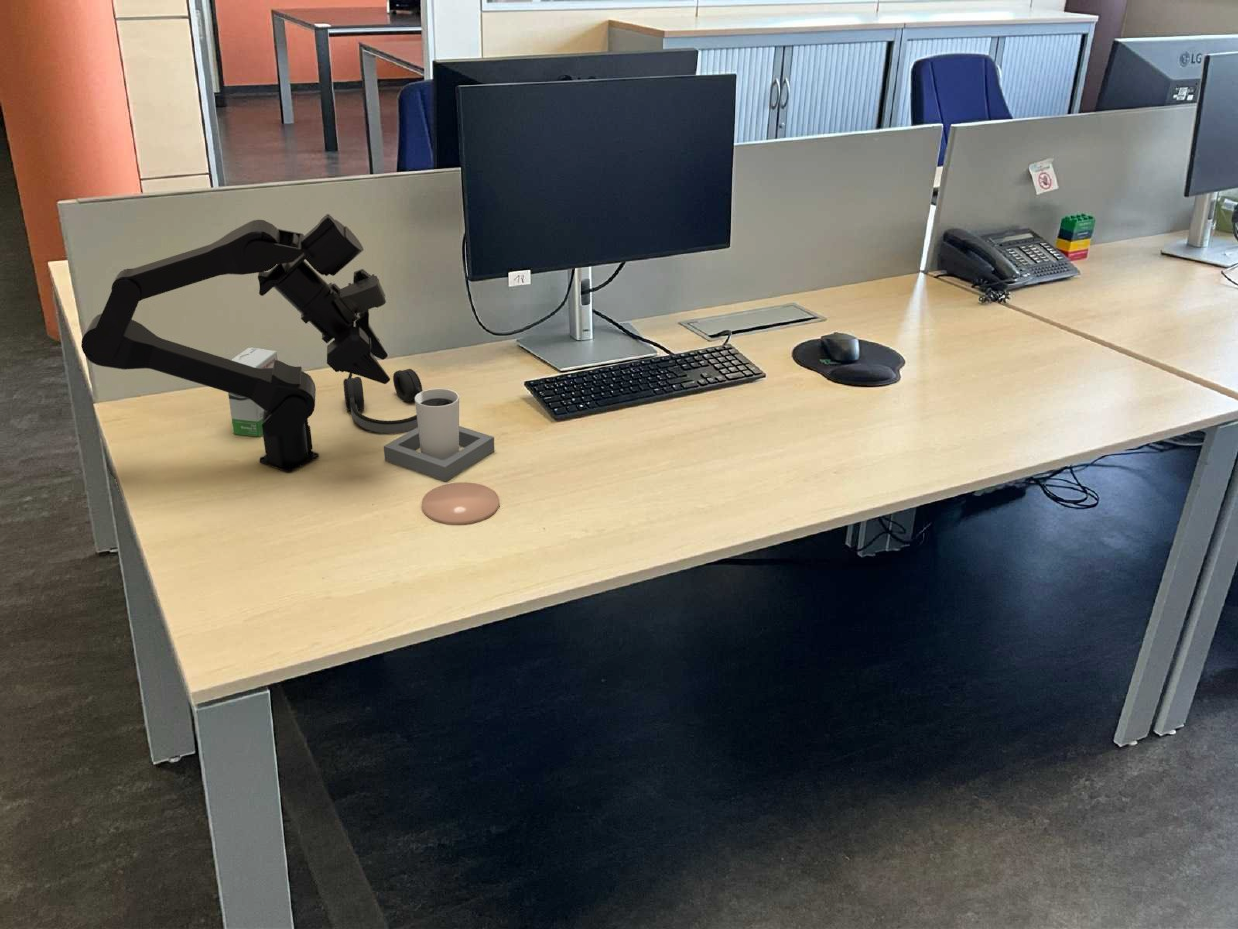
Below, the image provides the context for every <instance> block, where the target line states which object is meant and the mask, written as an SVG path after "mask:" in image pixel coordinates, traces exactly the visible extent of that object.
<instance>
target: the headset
mask: <svg viewBox="0 0 1238 929" xmlns="http://www.w3.org/2000/svg"><path fill="white" fill-rule="evenodd" d="M377 338H378V340H379V341H380V339H379V337H377ZM352 376H353V374H352V373H348V376H347V378H344V379H343V394H344V402H345V408H346V410H348V411H350V413H351V418H352V420H353V421H354V423H355V424H356V425H357V426H358V427H359V428H361V429H363V430H365V431H367V432H370V433H371V434H372V433H374V434H378V435H379V434H381V435H382V434H383V435H391V434H393V435H394V434H401V433H408V432H410V431H412V430H413V429H415V428H417V427H418V422H417V414H414V415H413V416H410V417H406V418H402V419H397V420H395V419H394V420H384V419H376V418H372V417H368V416H366V415H363V414H362V413H361V412H360V411H362V410H364V408H365V398H364V397H365V396H364V388H363V381H362V377H361V376H354V377H352ZM392 380H393V382H392V383H393V387H394V390H395V392H396V394H397V396H398V397H399V399H400V400H401V401H402V402H404V403H409V402H412V401H414V402H415V397H416V395H417V394H418V393H420V392H422V391H424V390H423V386H422V382H421V379H420V377H419V376H418V373H417V372H416V371H415V370H413V369H412V368H407V369H402V370H401V369H400V370H396V371H395V372H394V373H393V375H392Z"/></svg>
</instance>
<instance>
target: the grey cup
mask: <svg viewBox="0 0 1238 929" xmlns="http://www.w3.org/2000/svg"><path fill="white" fill-rule="evenodd" d="M414 404H415V413H416V415H417V422H418V430H419V439H420V447H419V448H420V453H423V454H426V455H429V456H432V457H435V458H437V459H440V460H443V461H444V460H445V459H447V458H449V457H450V456H452V455H454V454H455V453H457V452H458V451H460V445H459V426H460V396H459V394H458V393H457V392H456V391H455V390H451V389H448V388H429V389H426V390H423V391H422V392H420V393H418V394H417V395H416V397H415V400H414Z"/></svg>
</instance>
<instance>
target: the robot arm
mask: <svg viewBox="0 0 1238 929" xmlns="http://www.w3.org/2000/svg"><path fill="white" fill-rule="evenodd" d="M363 251H364V247H363V245H362V243H361V242H360V240H359V239H358V238H357V236H356V234H354V233H353V232H352V230H351V229H350V228H349V227H348V226H346V225H344V224H343V223H341V222H340V221H338V220H337V219H334V217H333V216H332V215H330V214H328V213H327V214H325V216H323V217H322V218H321V219H320V221H319V222H318V223H317V224H316V225H315V226H314V227H313V228H312V229H311V230H310V231H308V232H307V233H306V234H304V233H301V232H297V231H290V230H285V229H281V228H277V227H276V226H275V225H274V224H272V223H271V222H268V221H266V220H264V219H254V220H251V221H249V222H246V223H245V224H243V225H241V226H239V227H237V228H235V229H233V230H231V231H230V232H228V233H227V234H225V235H224V236H222V237H221V238H220V239H218V240H216V241H214V242H212V243H209V244H208V245H205V246H201V247H198V248H195V249H191V250H188V251H185V252H182V253H179V254H175V255H172V256H168V257H167V258H163V259H159V260H155V261H152V262H150V263H146V264H144V265H140V266H137V267H134V268H124V269H122V270H121V271H119V273H118V274H117V275H116V277H115V278H114V280H113V282H112V285H111V292H110V294H109V296H108V299H107V301H106V303H105V306H104V308H103V311H102V312H101V313H100V314H96V316H94V317H93V319H92V320H91V322H90V324H89V326H88V328H87V330H86V331H85V333H84V335H83V337H81V345H80V346H81V350H82V353H83V354H84V355H85V357H86V358H87V360H88V362H90V363H91V364H94V365H96V366H97V367H98V366H100V367H103V368H104V367H106V368H111V369H112V368H113V369H117V370H140V369H141V370H143V369H146V370H152V371H156V372H160V373H163V374H166V375H170V376H172V377H176V378H180V379H183V380H186V381H189V382H193V383H197V384H199V385H202V386H206V387H208V388H209V387H210V388H213V389H215V390H219V391H222V392H225V393H227V394H228V393H232V394H235V395H238V396H242V397H245V398H248V399H250V400H252V401H253V402H254V403H256V404H257V405H258V406H260V407H261V408H262V409H264V413H263V420H262V432H263V435H262V438H263V446H264V452H265V453H264V455H263V456H261V457H259V459H258V460H259V463H262V464H264V465H266V466H269V467H272V468H275V469H278V470H280V471H282V472H285V473H292V472H293V471H296V470H298V469H299V468H301V467H303V466H305V465H306V464H309V463H311V462H313V461H315V460H316V459H318V458H319V457H320V453H318V452H316V451H313V441H312V439H313V438H312V432H311V431H312V430H311V426H310V425H309V421H308V419H309V418H310V417H312V415H313V413H314V412H315V408H316V407H315V406H316V394H317V393H316V392H317V388H316V384H315V382H314V380H313V378H312V376H311V375H310V374H308V373H306V372H305V371H302V370H303V367H302V366H294V365H290V364H287V363H285V362H283V361H281V360H275V361H274V365H273V368H264V369H259V368H254V367H251V366H248V365H245V364H242V363H238V362H235V361H232V359H228V358H225V357H222V356H218V355H216V354H213V353H209V352H205V351H203V350H200V349H196V348H194V347H190V346H187V345H184V344H180V343H178V342H174V341H171V340H167V339H164V338H161V337H159V336H158V335H156V334H155V333H153V332H152V331H151V330H149V328H146V326H145V325H143V324H141V323H140V322H138V321H137V320H134V319H133V316H134V315H135V312H136V309H137V308H138V305H139V302H140V301H142V300H146V299H148V298H152V297H155V296H158V295H161V294H165V293H168V292H172V291H174V290H178V289H181V288H184V287H187V286H190V285H193V284H196V283H200V282H203V281H206V280H208V279H212V278H215V277H219V276H225V275H239V276H240V275H241V276H243V275H249V274H251V275H252V274H257V273H258V275H257V280H258V283H259V292H258V294H259V296H262V297H263V296H265V295H266V294H267V293H269V292H270V291H271V290H272V289H275V291H277V292H278V293H279V294H280V295H281V296H282V297H283V298H284V299H285V300H286V301H287V302H288V303H289V305H291V306H292V307H293V308H295V309H296V310H297V312H298V313H299V314H301V315H300V320H301V321H302V322H303V323H305V324H309V323H310V324H311V325H312V326H313V327H314V328H315V329H316V330H317V331H318V332H320V333H321V340H323V342H324V343H326V344H328V345H326V364H327V365H328V366H329V367H330V368H331V369H332V370H333V371H335V373H338V372H341V373H344V372H345V373H348V374H349V373H352V375H355V376H358V377H361V378H362V377H363V378H365V379H368V380H372V381H375V382H377V383H381V384H383V385H387V384H388V383H389V382H390V381H391V378H390V376H389V375H388V373H387V372H386V370H385V369H384V367H383V366H382V365H381V364H380V363H379V361H378V360H377V359H380V360H385V359H387V358H388V353H387V351H386V350H385V347H384V346H383V344H382V343H381V342H380V341H379V340H380V339H379V340H378V338H379V337H378V336H377V334H375V331H374V329H373V328H372V327H371V324H370V310H372V309H373V308H380V307H382V306H384V305H385V304H386V303H387V300H386V293H385V292H384V289H383V288H382V287H383V286H382V285H381V282H380V279H379V278H378V276H377V275H375V274H369V273H368V272H367V271H366V270H364V269H363V268H361V269H359V270H358V269H357V270H355V271H354V272H353V278H352V279H353V280H352V283H351V282H348V285H347V286H344V287H342V288H340V287H339V286H338V285H337V284H336V283H335V282H330V283H327V282H326V280H324V279H323V278H322V276H325V277H328V276H329V275H330V276H332V277H334V276H336V275H337V274H338V273H339V272H340V271H341V270H342V269H344V268H345V267H346V266H347V265H349V263H351V261H353V260H354V259H355V258H357V257H358V256H359V255H361V253H362V252H363ZM319 274H320V275H321V276H320V275H319ZM332 340H333V341H332Z"/></svg>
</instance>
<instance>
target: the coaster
mask: <svg viewBox="0 0 1238 929" xmlns="http://www.w3.org/2000/svg"><path fill="white" fill-rule="evenodd" d="M499 508H500V498H499V496H498V494H497V492H496V491H495V490H494V489H492V488H490V487H488V486H486V485H483V484H481V483H476V482H465V481H462V482H451V483H450V482H449V483H446V484H442V485H439V486H436V487H434V488H432V489H430V490H429V491H428V492H427V493H426V494H424V496H422V499H421V509H422V513H423V514H424V515H425V517H428V518H429V519H431V520H432V521H435V522H437V523H441V524H446V525H452V526H453V525H454V526H455V525H457V526H458V525H468V524H469V525H470V524H471V525H472V524H475V523H479V522H481V521H484V520H487V519H488V518H490V517H491V516H493V515H494V514H495V513H496V512H497V511H498V509H499Z"/></svg>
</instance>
